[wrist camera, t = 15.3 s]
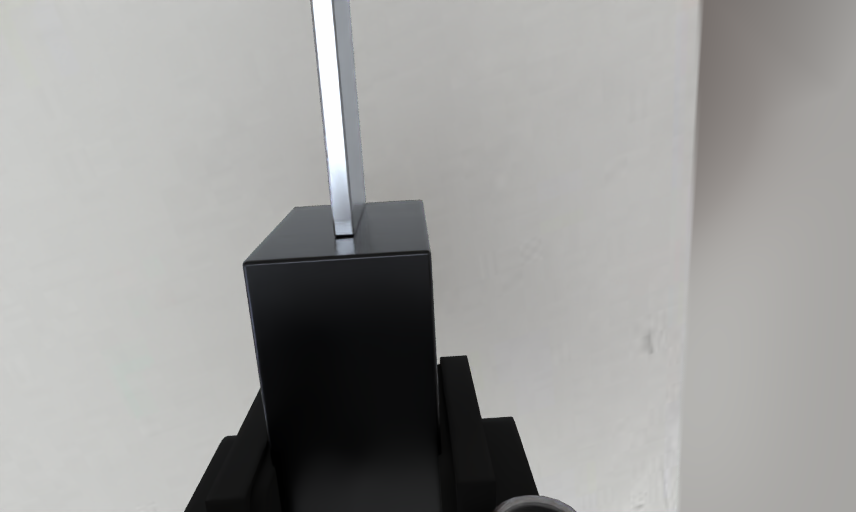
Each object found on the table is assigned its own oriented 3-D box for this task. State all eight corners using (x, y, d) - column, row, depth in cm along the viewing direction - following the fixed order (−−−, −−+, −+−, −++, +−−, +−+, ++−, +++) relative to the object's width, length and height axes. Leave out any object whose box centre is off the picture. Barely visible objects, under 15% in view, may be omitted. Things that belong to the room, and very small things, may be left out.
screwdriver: (444, 586, 13) (458, 760, 10) (339, 594, 13) (315, 772, 10) (383, -514, 8) (367, -967, 5) (209, -508, 8) (60, -959, 5)
